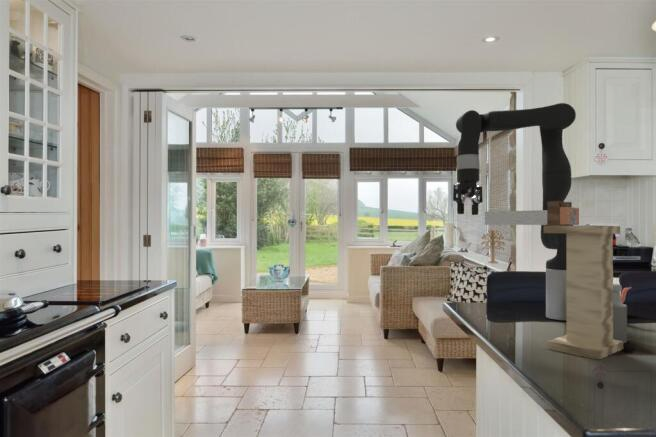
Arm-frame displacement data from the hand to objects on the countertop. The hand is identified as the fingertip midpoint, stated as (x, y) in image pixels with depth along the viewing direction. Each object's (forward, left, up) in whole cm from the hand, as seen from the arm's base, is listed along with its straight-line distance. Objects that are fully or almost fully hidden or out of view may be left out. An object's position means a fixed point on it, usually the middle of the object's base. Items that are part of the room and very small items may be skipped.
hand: (468, 214), depth 153 cm
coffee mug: (-8, +40, -36) cm, 55 cm away
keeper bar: (+10, +27, -4) cm, 29 cm away
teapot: (-50, +24, -36) cm, 66 cm away
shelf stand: (+10, +41, -36) cm, 56 cm away
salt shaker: (-34, +34, -36) cm, 60 cm away
